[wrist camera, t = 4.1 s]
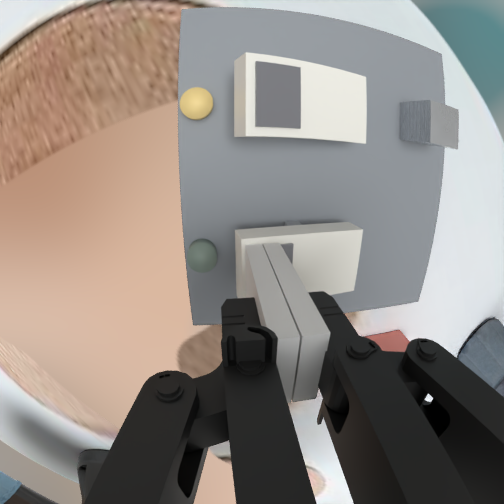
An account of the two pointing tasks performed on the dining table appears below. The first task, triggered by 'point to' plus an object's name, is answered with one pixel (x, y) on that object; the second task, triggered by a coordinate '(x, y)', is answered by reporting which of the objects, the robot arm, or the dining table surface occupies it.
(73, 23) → the dining table surface
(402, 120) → the post
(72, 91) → the dining table surface
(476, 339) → the moka pot
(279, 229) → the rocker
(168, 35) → the dining table surface
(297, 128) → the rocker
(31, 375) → the dining table surface
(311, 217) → the panel
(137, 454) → the robot arm
